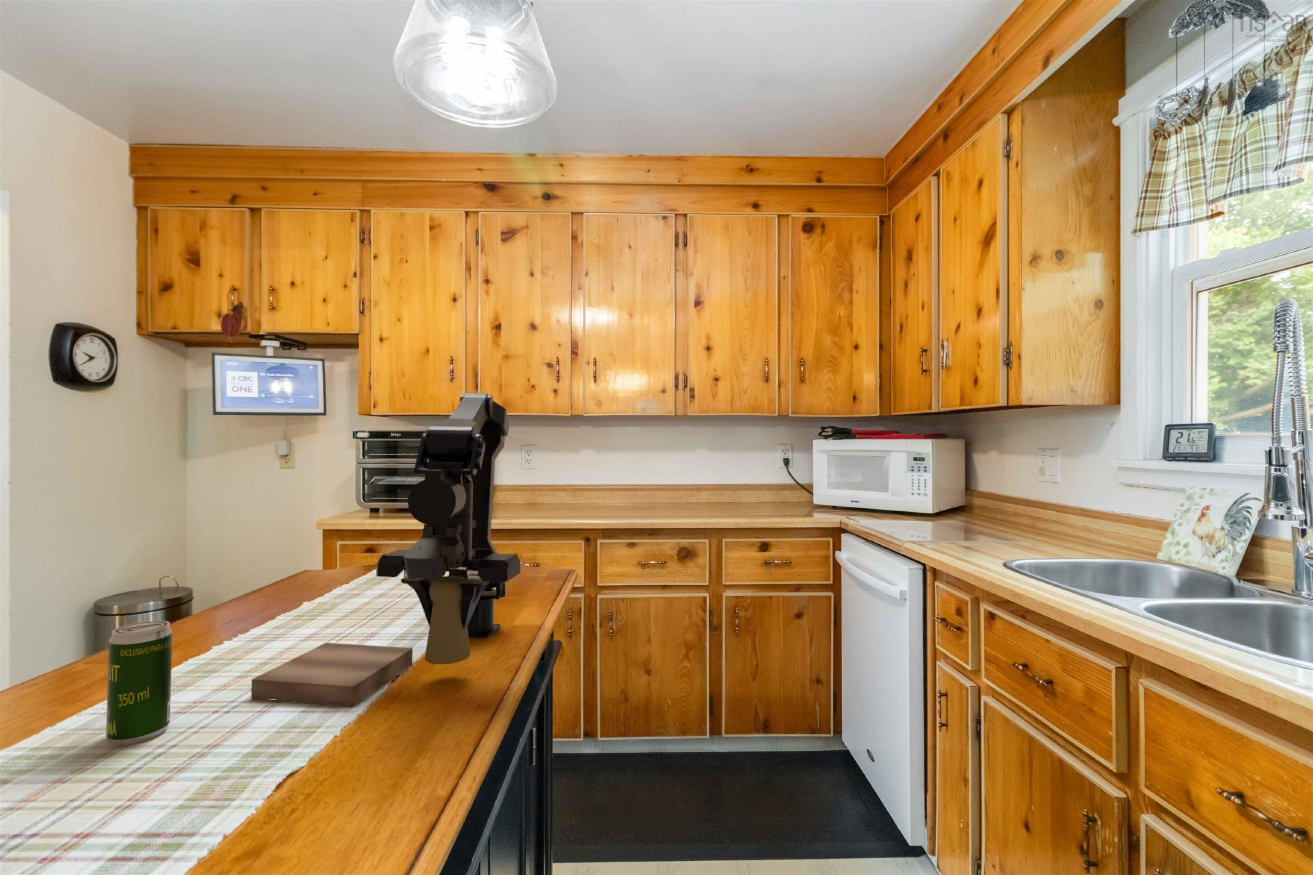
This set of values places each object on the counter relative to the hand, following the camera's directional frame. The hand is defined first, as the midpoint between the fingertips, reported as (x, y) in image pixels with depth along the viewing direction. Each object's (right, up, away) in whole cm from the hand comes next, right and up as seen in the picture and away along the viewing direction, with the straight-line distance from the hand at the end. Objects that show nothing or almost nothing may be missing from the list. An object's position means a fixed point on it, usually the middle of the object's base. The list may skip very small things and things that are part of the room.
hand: (448, 626), depth 81 cm
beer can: (-29, -7, -16) cm, 34 cm away
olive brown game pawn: (0, -4, 0) cm, 4 cm away
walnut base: (-15, -7, 0) cm, 17 cm away
